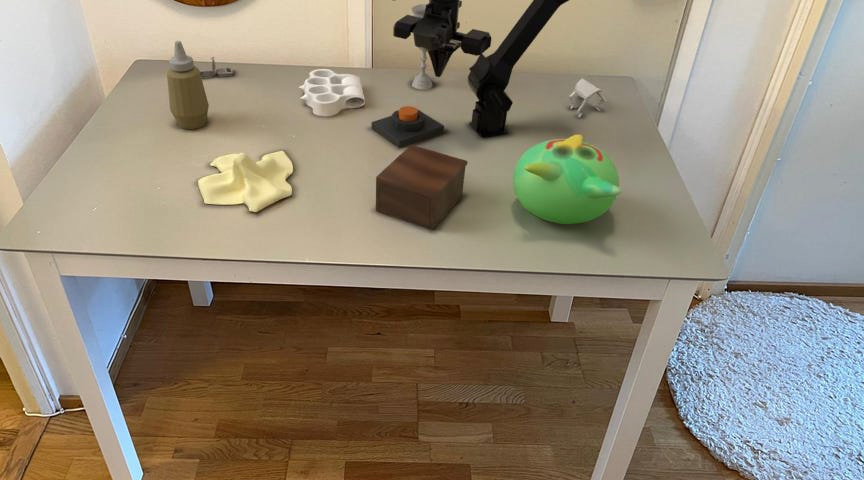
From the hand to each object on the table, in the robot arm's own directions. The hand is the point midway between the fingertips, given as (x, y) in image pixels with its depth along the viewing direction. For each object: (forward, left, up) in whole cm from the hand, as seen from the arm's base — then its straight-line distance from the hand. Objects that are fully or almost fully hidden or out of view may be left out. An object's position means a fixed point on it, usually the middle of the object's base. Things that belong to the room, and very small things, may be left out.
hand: (438, 76), depth 138 cm
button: (+5, -3, -10) cm, 11 cm away
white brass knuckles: (+16, -23, -13) cm, 31 cm away
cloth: (+41, +5, -13) cm, 43 cm away
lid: (+13, +23, -7) cm, 27 cm away
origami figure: (-38, -1, -13) cm, 40 cm away
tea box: (+13, +23, -13) cm, 30 cm away
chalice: (-7, -23, -13) cm, 27 cm away
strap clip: (+39, -44, -13) cm, 60 cm away
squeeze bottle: (+48, -21, -13) cm, 54 cm away
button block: (+5, -3, -13) cm, 14 cm away
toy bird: (-9, +35, -13) cm, 38 cm away
